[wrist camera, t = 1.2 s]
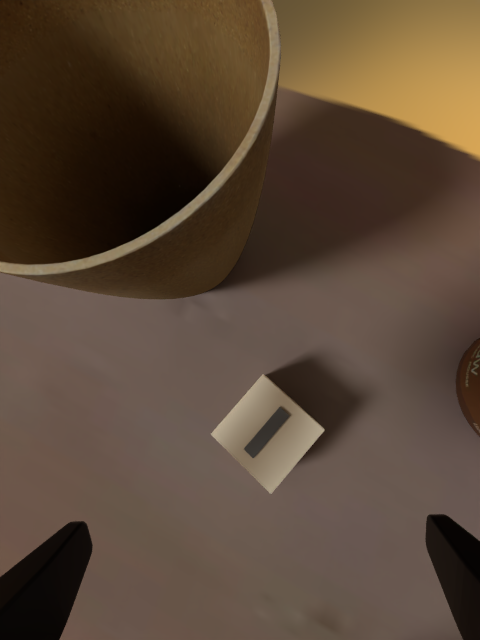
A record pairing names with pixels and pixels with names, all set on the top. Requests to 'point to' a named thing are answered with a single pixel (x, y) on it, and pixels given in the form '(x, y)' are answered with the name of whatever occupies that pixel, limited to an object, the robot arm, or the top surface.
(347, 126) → the top surface
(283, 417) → the numbered tile one
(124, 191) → the plant pot
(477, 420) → the food container
